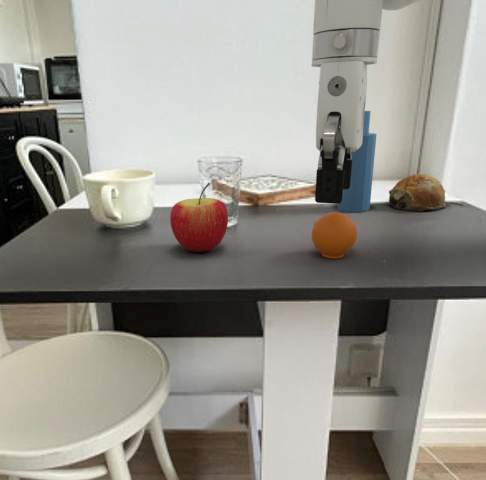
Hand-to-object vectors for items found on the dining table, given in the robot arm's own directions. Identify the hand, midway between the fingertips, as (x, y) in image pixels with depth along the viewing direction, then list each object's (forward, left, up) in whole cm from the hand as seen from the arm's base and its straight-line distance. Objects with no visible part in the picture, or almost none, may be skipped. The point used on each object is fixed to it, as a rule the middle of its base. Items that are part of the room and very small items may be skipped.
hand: (333, 195), depth 58 cm
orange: (0, 0, -8) cm, 8 cm away
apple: (+15, -12, -9) cm, 21 cm away
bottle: (-21, -20, -8) cm, 30 cm away
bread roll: (-32, -15, -9) cm, 37 cm away
